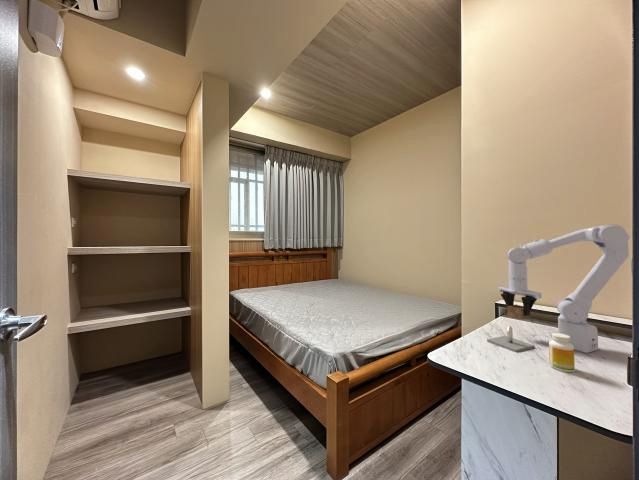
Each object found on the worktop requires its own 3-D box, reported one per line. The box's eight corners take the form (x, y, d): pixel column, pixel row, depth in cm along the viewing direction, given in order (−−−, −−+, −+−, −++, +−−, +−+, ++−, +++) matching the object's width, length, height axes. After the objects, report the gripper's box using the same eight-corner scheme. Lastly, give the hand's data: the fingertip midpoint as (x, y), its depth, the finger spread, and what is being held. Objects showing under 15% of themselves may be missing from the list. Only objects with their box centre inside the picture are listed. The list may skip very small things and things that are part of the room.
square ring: (530, 318, 97) (530, 307, 97) (521, 319, 95) (521, 309, 95) (515, 314, 101) (515, 304, 101) (507, 316, 100) (507, 305, 100)
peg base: (534, 347, 89) (534, 328, 89) (515, 352, 85) (515, 332, 85) (505, 337, 98) (504, 320, 98) (487, 341, 95) (486, 323, 95)
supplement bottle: (580, 373, 71) (579, 339, 71) (557, 372, 72) (557, 338, 72) (565, 364, 77) (564, 332, 77) (545, 363, 78) (544, 331, 78)
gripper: (492, 276, 104) (493, 309, 104) (532, 281, 90) (533, 319, 90) (503, 275, 106) (504, 308, 106) (544, 280, 93) (545, 317, 92)
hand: (518, 313), depth 98 cm, fingers closed on square ring, 5 cm apart
